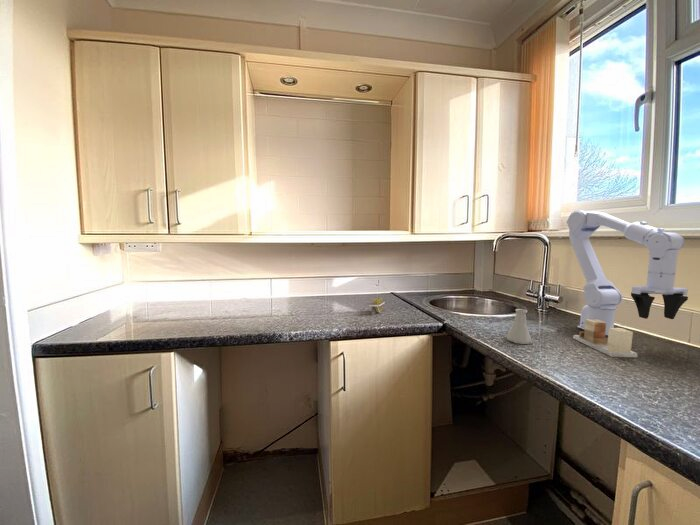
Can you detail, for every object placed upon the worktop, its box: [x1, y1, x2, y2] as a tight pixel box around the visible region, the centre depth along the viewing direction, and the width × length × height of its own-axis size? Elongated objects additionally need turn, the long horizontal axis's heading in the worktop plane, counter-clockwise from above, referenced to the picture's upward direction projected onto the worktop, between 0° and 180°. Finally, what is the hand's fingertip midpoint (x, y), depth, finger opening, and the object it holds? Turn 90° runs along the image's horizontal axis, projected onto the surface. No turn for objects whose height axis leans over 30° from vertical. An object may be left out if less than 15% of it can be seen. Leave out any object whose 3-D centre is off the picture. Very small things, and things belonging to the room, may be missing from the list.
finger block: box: [583, 319, 606, 341], centre depth 95 cm, size 4×4×6 cm
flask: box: [505, 308, 533, 345], centre depth 96 cm, size 7×7×10 cm
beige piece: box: [572, 327, 639, 358], centre depth 92 cm, size 15×7×7 cm, turn 179°
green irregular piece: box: [368, 297, 385, 316], centre depth 126 cm, size 12×18×7 cm, turn 153°
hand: (656, 318), depth 91 cm, fingers open, 7 cm apart
